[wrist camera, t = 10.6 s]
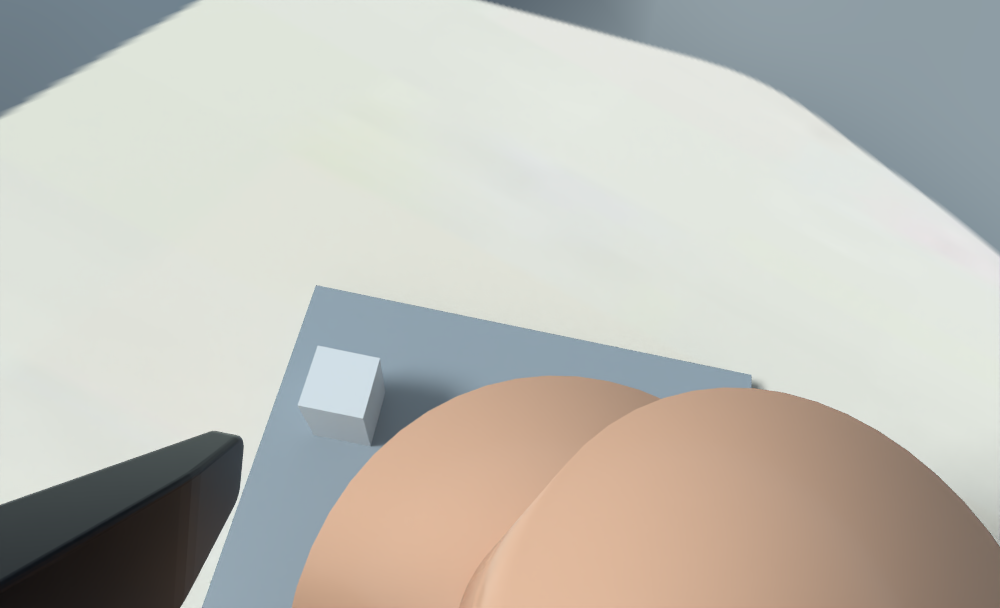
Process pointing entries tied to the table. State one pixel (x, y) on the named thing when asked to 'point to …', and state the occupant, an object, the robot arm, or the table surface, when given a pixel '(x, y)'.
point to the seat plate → (387, 415)
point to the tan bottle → (646, 508)
